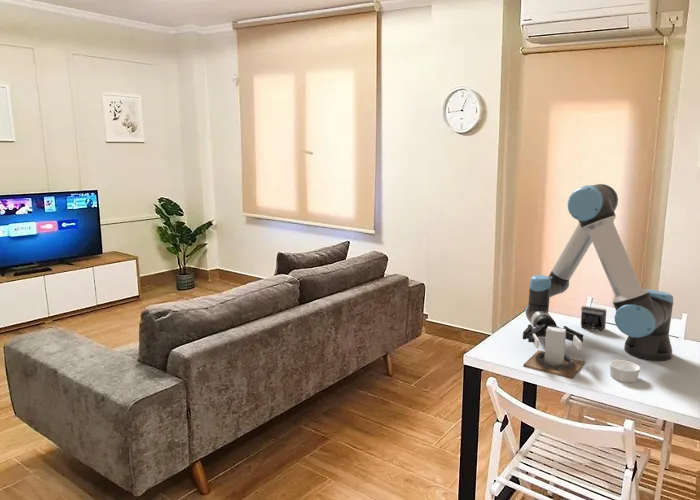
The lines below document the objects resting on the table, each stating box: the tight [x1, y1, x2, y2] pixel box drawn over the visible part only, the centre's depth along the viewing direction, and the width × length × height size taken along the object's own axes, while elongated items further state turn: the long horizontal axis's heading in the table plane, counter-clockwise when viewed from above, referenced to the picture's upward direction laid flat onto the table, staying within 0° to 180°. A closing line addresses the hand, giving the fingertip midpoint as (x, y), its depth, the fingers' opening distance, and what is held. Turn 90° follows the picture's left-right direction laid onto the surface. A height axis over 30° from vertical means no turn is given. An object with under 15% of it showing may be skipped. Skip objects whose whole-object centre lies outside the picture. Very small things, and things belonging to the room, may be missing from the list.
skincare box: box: [544, 326, 567, 365], centre depth 183 cm, size 6×4×12 cm
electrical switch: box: [580, 305, 607, 332], centre depth 218 cm, size 9×5×9 cm, turn 57°
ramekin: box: [609, 359, 641, 384], centre depth 174 cm, size 9×9×4 cm
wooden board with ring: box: [523, 349, 586, 379], centre depth 184 cm, size 16×16×2 cm
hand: (558, 345), depth 179 cm, fingers open, 13 cm apart
